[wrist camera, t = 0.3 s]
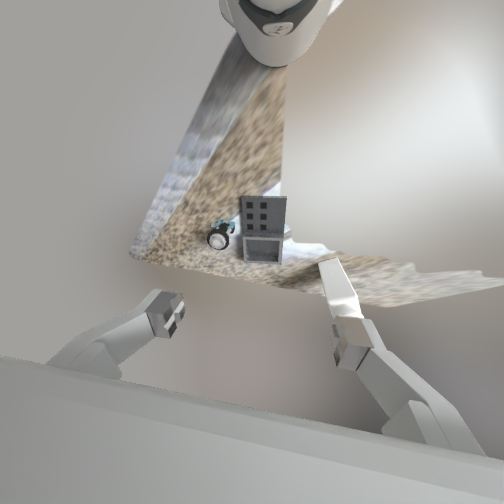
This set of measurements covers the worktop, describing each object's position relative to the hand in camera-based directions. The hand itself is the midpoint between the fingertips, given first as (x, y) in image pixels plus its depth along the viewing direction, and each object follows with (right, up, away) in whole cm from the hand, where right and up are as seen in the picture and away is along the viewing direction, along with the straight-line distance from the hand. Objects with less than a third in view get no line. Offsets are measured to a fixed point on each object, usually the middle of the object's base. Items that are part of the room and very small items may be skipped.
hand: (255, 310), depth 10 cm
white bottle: (+23, -1, +46) cm, 51 cm away
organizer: (+3, +9, +41) cm, 42 cm away
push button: (-8, +11, +42) cm, 44 cm away
